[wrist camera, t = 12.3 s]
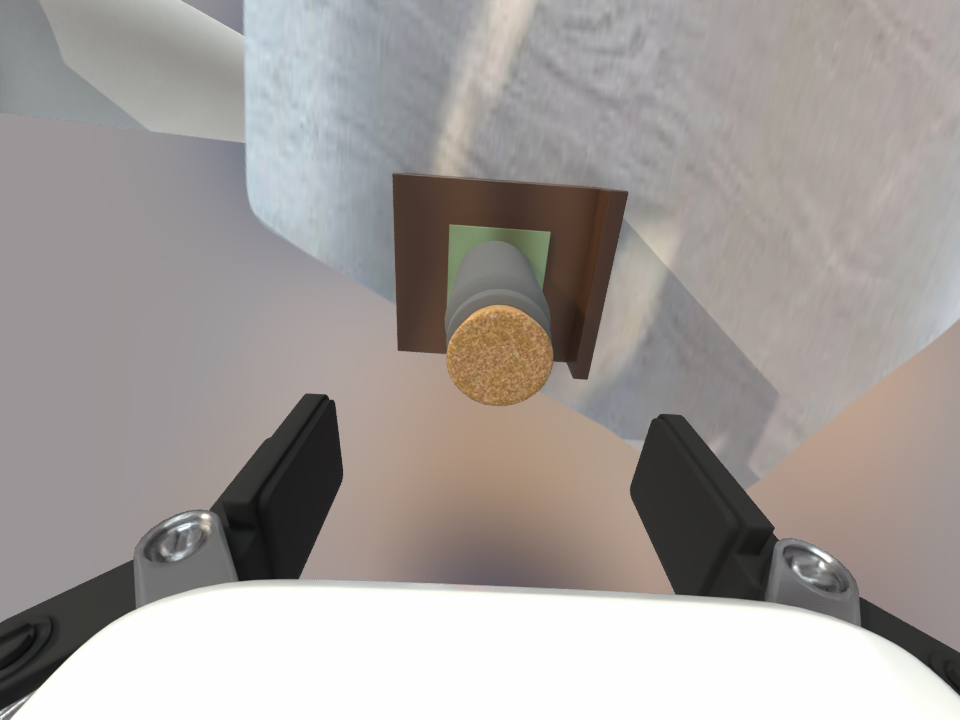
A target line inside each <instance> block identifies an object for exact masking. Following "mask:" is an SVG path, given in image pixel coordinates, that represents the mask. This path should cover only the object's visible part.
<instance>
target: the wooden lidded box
mask: <svg viewBox="0 0 960 720" xmlns="http://www.w3.org/2000/svg"><path fill="white" fill-rule="evenodd" d="M627 196H628V191H621V190H614V189H606V188H598V187H586V186H573V185H559V184H546V183H532V182H519V181H506V180H492V179H479V178H465V177H452V176H439V175H425V174H412V173H393V206H394V240H395V273H396V307H397V339H398V351H410V352H424V353H440V354H447V346H446V338H447V335H446V331H445V314H446V309H447V305H448V301H449V298H450V294H451V291H452V288H453V284H454V281H455V278H456V275H457V271H458V268H459V266H460V264H461V262H462V260H463V258H464V257H465V255H466V254H467V253H468V252H469V251H470V250H471V249H472V248H474V247H475V246H477V245H479V244H481V243H484V242H487V241H503V242H506V243H509V244H511V245H513V246H515V247H516V248H517V249H519V250H520V251H521V252H522V253H523V254H524V256H525V257H526V258H527V260H528V262H529V264H530V266H531V268H532V270H533V272H534V274H535V277H536V279H537V281H538V283H539V285H540V287H541V289H542V292H543V294H544V296H545V299H546V302H547V304H548V307H549V311H550V320H551V322H550V331H551V342H552V343H551V344H552V348H553V361H555V362H567V365H568V367H569V369H570V372H571V374H572V377H573V378H574V379H585V380H587V379H588V375H589V371H590V366H591V362H592V357H593V352H594V348H595V343H596V339H597V334H598V329H599V325H600V320H601V316H602V311H603V307H604V302H605V297H606V293H607V288H608V284H609V279H610V274H611V270H612V265H613V261H614V256H615V251H616V247H617V242H618V238H619V233H620V229H621V224H622V219H623V215H624V210H625V206H626V201H627Z"/></svg>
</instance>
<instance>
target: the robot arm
mask: <svg viewBox="0 0 960 720" xmlns="http://www.w3.org/2000/svg"><path fill="white" fill-rule="evenodd" d="M342 466H343V465H342V457H341V449H340V441H339V432H338V424H337V416H336V407H335V402H334V400H329V398H328V396H327V395H324V394H323V395H322V394H305V395H304V396H303V397H302V399H301V400H300V401H299V402H298V404H297V405H296V406H295V407H294V409H293V410H292V411H291V413H290V414H289V415H288V416H287V418H286V419H285V420H284V421H283V423H282V424H281V425H280V426H279V428H278V429H277V430H276V432H275V433H274V434H273V435H272V437H270V438H268V439H266V440H265V441H264V442H263V444H262V445H261V446H260V447H259V448H258V450H257V451H256V452H255V454H254V455H253V456H252V457H251V458H250V460H249V461H248V462H247V463H246V465H245V466H244V467H243V469H242V470H241V471H240V472H239V473H238V475H237V476H236V477H235V478H234V480H233V481H232V482H231V483H230V485H229V486H228V487H227V489H226V490H225V491H224V492H223V493H222V495H221V496H220V497H219V499H218V500H217V501H216V502H215V504H214V505H213V506H212V507H211V509H210V510H209V511H208V510H191V511H186V512H183V513H179V514H176V515H174V516H172V517H170V518H168V519H165V520H163V521H162V522H160V523H159V524H157V525H156V526H155V527H153V528H151V529H150V530H149V531H148V532H147V533H146V534H145V535H144V536H143V537H142V538H141V540H140V541H139V543H138V544H137V546H136V547H135V551H134V556H133V558H134V559H133V560H131V561H129V562H127V563H125V564H123V565H121V566H118V567H116V568H114V569H112V570H110V571H108V572H106V573H104V574H102V575H99V576H97V577H95V578H93V579H91V580H89V581H87V582H85V583H82V584H80V585H78V586H76V587H74V588H72V589H70V590H68V591H65V592H63V593H61V594H59V595H57V596H55V597H53V598H51V599H49V600H46V601H44V602H42V603H40V604H38V605H36V606H34V607H32V608H30V609H27V610H25V611H23V612H21V613H19V614H17V615H15V616H12V617H10V618H8V619H6V620H5V621H3V622H1V623H0V720H960V653H959V652H957V651H956V650H954V649H952V648H950V647H949V646H947V645H945V644H943V643H941V642H940V641H938V640H936V639H934V638H932V637H931V636H929V635H927V634H925V633H924V632H922V631H920V630H918V629H916V628H915V627H913V626H911V625H909V624H908V623H906V622H904V621H902V620H900V619H899V618H897V617H895V616H893V615H891V614H890V613H888V612H886V611H884V610H882V609H881V608H879V607H877V606H875V605H874V604H872V603H870V602H868V601H867V600H865V599H863V598H861V597H859V590H858V587H857V583H856V581H855V579H854V578H853V576H852V575H851V573H850V572H849V570H848V569H846V567H845V566H843V564H842V563H840V562H839V561H838V560H837V559H836V558H834V557H833V556H832V555H830V554H829V553H828V552H826V551H824V550H822V549H821V548H819V547H817V546H815V545H813V544H810V543H808V542H805V541H802V540H798V539H793V538H786V539H781V540H778V539H777V538H776V536H775V535H774V534H773V533H772V532H773V530H774V529H775V528H774V526H773V525H772V524H771V523H770V521H769V520H768V519H767V518H766V516H765V515H764V514H763V513H762V512H761V510H760V509H759V508H758V507H757V506H756V504H755V503H754V502H753V501H752V500H751V498H750V497H749V496H748V495H747V493H746V492H745V491H744V490H743V488H742V487H741V486H740V485H739V484H738V482H737V481H736V480H735V479H734V478H733V476H732V475H731V474H730V473H729V471H728V470H727V469H726V468H725V467H724V465H723V464H722V463H721V462H720V460H719V459H718V458H717V457H716V456H715V454H714V453H713V452H712V451H711V450H710V448H709V447H708V446H707V445H706V443H705V442H704V441H703V440H702V439H701V437H700V436H699V435H698V434H697V432H696V431H695V430H694V429H693V428H692V426H691V425H690V424H689V423H688V422H687V420H686V419H685V418H684V417H683V416H682V415H671V414H660V415H659V416H658V417H657V419H656V418H655V419H653V420H652V422H651V424H650V427H649V430H648V433H647V437H646V440H645V443H644V446H643V449H642V452H641V455H640V458H639V461H638V464H637V467H636V471H635V474H634V477H633V480H632V483H631V487H630V494H631V498H632V500H633V503H634V505H635V507H636V509H637V511H638V513H639V516H640V518H641V520H642V522H643V525H644V527H645V529H646V531H647V533H648V535H649V538H650V540H651V542H652V544H653V546H654V548H655V551H656V553H657V555H658V557H659V559H660V561H661V563H662V566H663V568H664V570H665V572H666V575H667V576H668V579H669V581H670V583H671V585H672V587H673V590H674V592H675V594H676V595H674V594H654V593H634V592H614V591H593V590H573V589H551V588H527V587H506V586H483V585H460V584H459V585H458V584H434V583H408V582H382V581H353V580H307V579H304V580H303V579H299V577H300V575H301V573H302V571H303V568H304V566H305V564H306V562H307V559H308V557H309V555H310V553H311V550H312V548H313V546H314V543H315V541H316V539H317V536H318V535H319V532H320V530H321V528H322V525H323V523H324V521H325V519H326V517H327V514H328V512H329V510H330V507H331V505H332V503H333V501H334V499H335V496H336V494H337V492H338V490H339V487H340V485H341V482H342V479H343V467H342Z"/></svg>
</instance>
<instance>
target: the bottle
mask: <svg viewBox="0 0 960 720" xmlns="http://www.w3.org/2000/svg"><path fill="white" fill-rule="evenodd" d="M550 322H551V320H550V311H549V307H548V304H547V302H546V299H545V296H544V294H543V292H542V289H541V287H540V285H539V283H538V281H537V279H536V277H535V274H534V272H533V270H532V268H531V266H530V264H529V262H528V260H527V258H526V257H525V256H524V254H523V253H522V252H521V251H520V250H519V249H517V248H516V247H515V246H513V245H511V244H509V243H506V242H503V241H487V242H484V243H481V244H479V245H477V246H475V247H474V248H472V249H471V250H470V251H469V252H468V253H467V254H466V255H465V257H464V258H463V260H462V262H461V264H460V266H459V268H458V271H457V275H456V278H455V281H454V284H453V288H452V291H451V294H450V298H449V301H448V305H447V309H446V314H445V331H446V335H447V338H446V346H447V358H446V360H447V367H448V372H449V374H450V377H451V378H452V380H453V382H454V384H455V385H456V386H457V387H458V389H459V390H460V391H461V392H462V393H464V394H465V395H466V396H468V397H469V398H471V399H473V400H475V401H477V402H479V403H483V404H486V405H493V406H507V405H512V404H516V403H519V402H522V401H524V400H526V399H528V398H529V397H531V396H532V395H534V394H535V393H536V392H538V391H539V390H540V389H541V387H542V386H543V385H544V384H545V382H546V381H547V379H548V377H549V375H550V373H551V369H552V366H553V348H552V344H551V343H552V342H551V331H550Z"/></svg>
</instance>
